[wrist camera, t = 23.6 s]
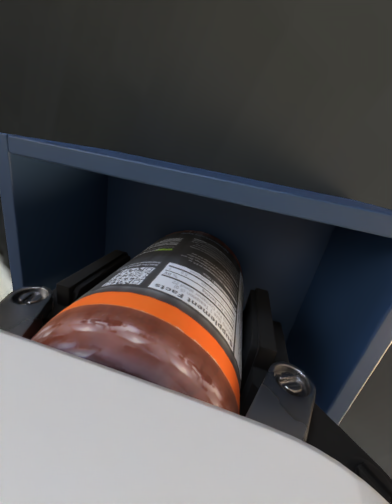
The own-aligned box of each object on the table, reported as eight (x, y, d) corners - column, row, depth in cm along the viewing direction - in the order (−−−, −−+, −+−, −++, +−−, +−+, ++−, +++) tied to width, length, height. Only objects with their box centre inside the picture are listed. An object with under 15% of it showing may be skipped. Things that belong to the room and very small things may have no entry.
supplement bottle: (189, 333, 15) (50, 696, 5) (129, 264, 14) (-196, 510, 4) (266, 288, 13) (341, 797, 2) (200, 204, 12) (-108, 401, 2)
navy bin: (354, 199, 12) (466, 230, 6) (281, 365, 16) (300, 484, 10) (106, 149, 14) (-9, 130, 8) (100, 308, 18) (24, 377, 12)
